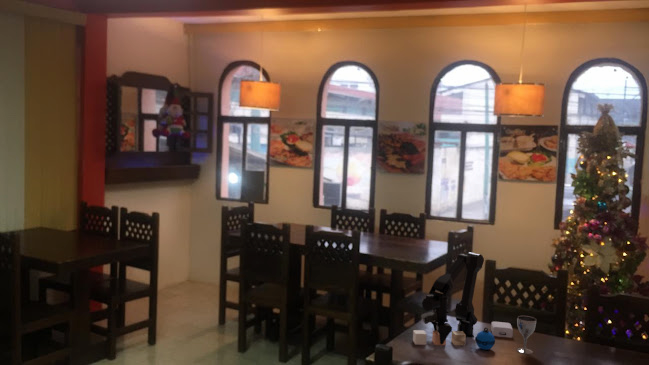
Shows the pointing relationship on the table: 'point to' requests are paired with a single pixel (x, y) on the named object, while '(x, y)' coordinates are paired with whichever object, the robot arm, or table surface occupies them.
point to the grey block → (419, 337)
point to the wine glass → (525, 331)
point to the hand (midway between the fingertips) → (439, 340)
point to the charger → (502, 329)
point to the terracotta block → (437, 338)
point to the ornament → (485, 339)
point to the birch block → (458, 338)
